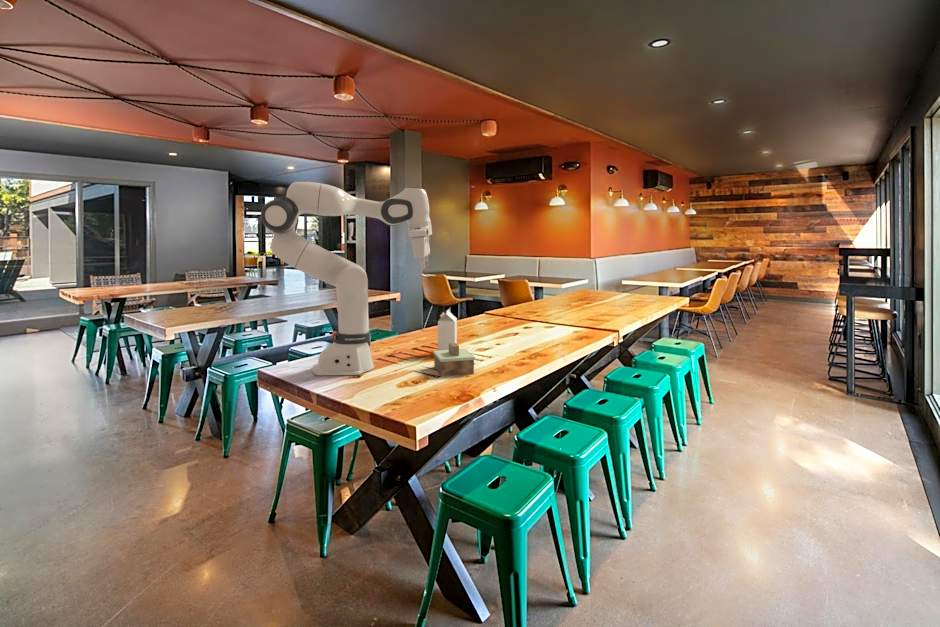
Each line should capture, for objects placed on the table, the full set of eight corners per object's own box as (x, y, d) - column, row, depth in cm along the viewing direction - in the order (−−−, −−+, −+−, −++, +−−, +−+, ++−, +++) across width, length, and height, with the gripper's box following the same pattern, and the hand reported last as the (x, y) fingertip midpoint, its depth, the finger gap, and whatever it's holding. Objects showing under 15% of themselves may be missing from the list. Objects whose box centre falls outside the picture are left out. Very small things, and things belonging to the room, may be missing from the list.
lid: (440, 361, 173) (440, 349, 173) (433, 353, 185) (433, 341, 185) (474, 359, 177) (475, 347, 176) (465, 351, 189) (465, 339, 188)
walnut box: (441, 377, 175) (441, 361, 174) (434, 368, 186) (434, 353, 185) (473, 375, 178) (473, 359, 177) (464, 366, 190) (464, 351, 189)
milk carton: (456, 352, 211) (457, 309, 208) (454, 356, 204) (454, 311, 201) (440, 352, 212) (440, 308, 209) (437, 356, 205) (437, 311, 202)
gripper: (415, 231, 193) (419, 266, 196) (407, 233, 173) (412, 271, 175) (431, 229, 193) (435, 264, 195) (425, 231, 173) (429, 270, 175)
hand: (424, 268), depth 185 cm, fingers open, 8 cm apart
